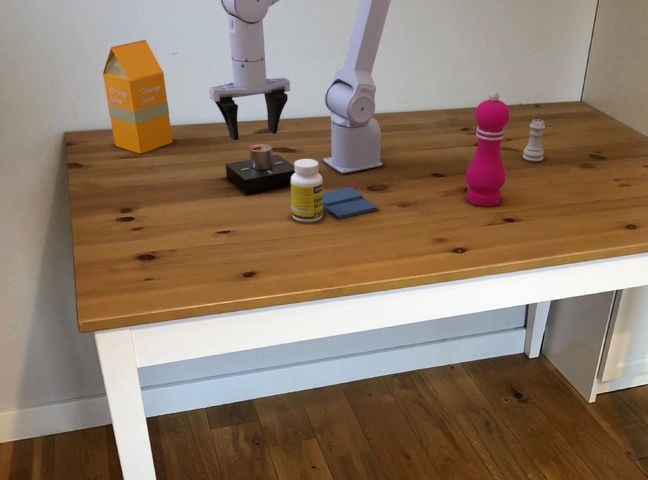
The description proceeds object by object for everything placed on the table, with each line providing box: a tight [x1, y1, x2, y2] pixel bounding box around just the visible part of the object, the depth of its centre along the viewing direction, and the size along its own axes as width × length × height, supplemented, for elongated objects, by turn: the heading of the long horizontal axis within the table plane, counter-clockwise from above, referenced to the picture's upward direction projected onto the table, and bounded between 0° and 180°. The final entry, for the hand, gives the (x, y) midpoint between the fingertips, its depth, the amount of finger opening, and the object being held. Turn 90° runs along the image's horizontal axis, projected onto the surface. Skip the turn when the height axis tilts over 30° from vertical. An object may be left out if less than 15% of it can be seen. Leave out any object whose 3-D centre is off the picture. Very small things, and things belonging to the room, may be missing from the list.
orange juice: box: [102, 39, 173, 155], centre depth 154 cm, size 8×9×20 cm
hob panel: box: [225, 154, 296, 196], centre depth 145 cm, size 11×9×3 cm
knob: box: [249, 143, 273, 170], centre depth 143 cm, size 4×4×4 cm
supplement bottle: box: [290, 158, 324, 223], centre depth 131 cm, size 5×5×10 cm
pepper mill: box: [465, 90, 510, 207], centre depth 137 cm, size 7×7×20 cm
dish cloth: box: [323, 186, 377, 220], centre depth 138 cm, size 8×9×1 cm
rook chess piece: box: [522, 119, 546, 163], centre depth 159 cm, size 4×4×8 cm
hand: (253, 135), depth 140 cm, fingers open, 7 cm apart
